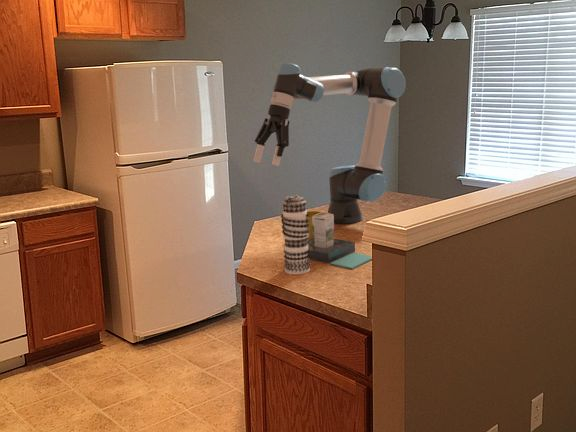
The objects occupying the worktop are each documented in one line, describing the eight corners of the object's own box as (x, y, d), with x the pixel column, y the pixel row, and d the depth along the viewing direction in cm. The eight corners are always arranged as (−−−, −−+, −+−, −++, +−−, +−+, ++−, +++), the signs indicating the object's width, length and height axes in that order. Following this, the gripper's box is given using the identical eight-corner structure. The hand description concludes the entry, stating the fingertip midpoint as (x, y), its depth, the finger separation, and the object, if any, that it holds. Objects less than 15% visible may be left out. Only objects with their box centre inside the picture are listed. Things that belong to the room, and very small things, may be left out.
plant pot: (321, 242, 241) (320, 217, 239) (295, 241, 244) (294, 216, 242) (329, 235, 250) (328, 211, 248) (304, 233, 254) (303, 210, 252)
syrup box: (321, 250, 231) (319, 211, 227) (335, 252, 227) (333, 213, 224) (312, 254, 226) (311, 215, 223) (326, 257, 223) (325, 217, 219)
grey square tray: (319, 244, 238) (319, 235, 237) (355, 251, 228) (354, 242, 227) (292, 255, 226) (292, 246, 225) (328, 263, 216) (328, 253, 215)
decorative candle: (293, 264, 217) (290, 192, 211) (316, 268, 212) (313, 194, 206) (278, 272, 210) (274, 198, 204) (301, 276, 204) (298, 200, 198)
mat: (353, 254, 225) (353, 252, 224) (375, 258, 219) (375, 256, 219) (330, 264, 214) (330, 263, 214) (352, 269, 209) (352, 267, 208)
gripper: (255, 103, 236) (240, 158, 237) (290, 103, 215) (274, 164, 216) (271, 109, 240) (257, 163, 241) (307, 109, 219) (292, 169, 220)
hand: (265, 163), depth 228 cm, fingers open, 13 cm apart
